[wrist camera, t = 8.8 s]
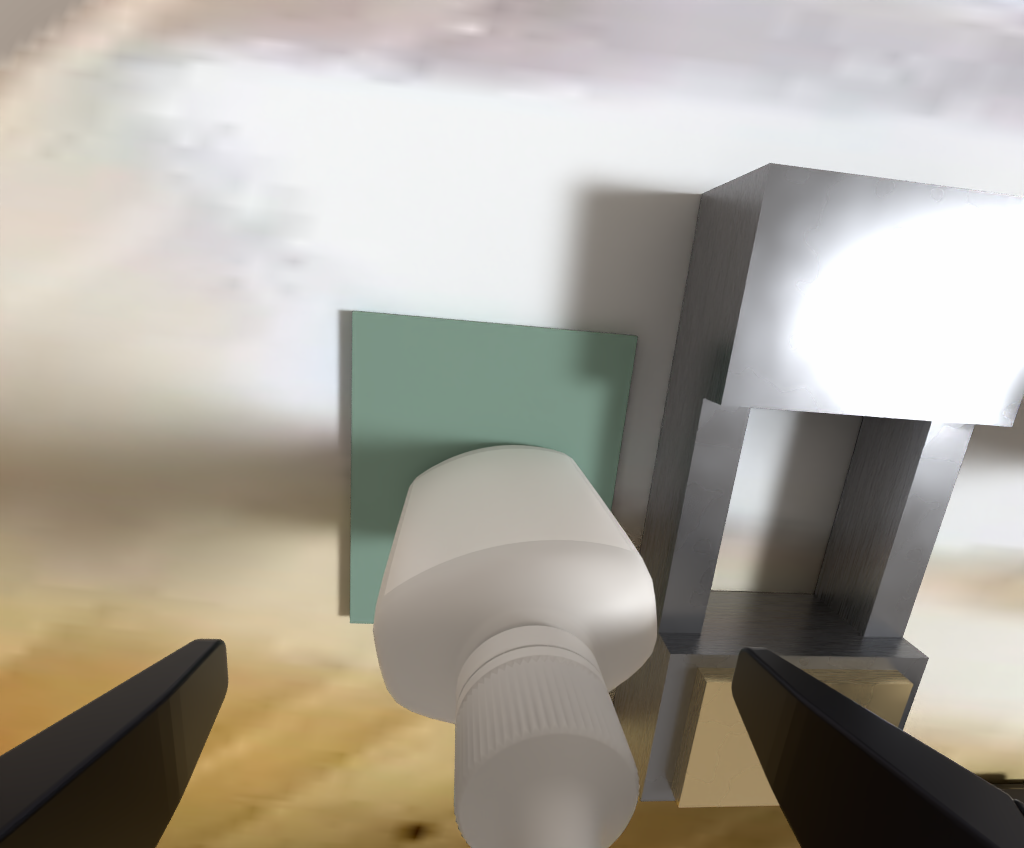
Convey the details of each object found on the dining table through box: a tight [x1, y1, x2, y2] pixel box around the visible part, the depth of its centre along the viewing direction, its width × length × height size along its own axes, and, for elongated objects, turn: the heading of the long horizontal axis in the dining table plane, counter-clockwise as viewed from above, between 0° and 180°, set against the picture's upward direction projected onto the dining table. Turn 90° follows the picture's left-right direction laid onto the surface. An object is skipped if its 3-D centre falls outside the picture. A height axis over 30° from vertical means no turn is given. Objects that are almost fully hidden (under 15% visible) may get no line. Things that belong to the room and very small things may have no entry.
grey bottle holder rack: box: [613, 163, 1024, 808], centre depth 16 cm, size 20×9×4 cm, turn 175°
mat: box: [350, 311, 638, 624], centre depth 17 cm, size 11×9×1 cm
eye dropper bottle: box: [373, 445, 657, 848], centre depth 11 cm, size 4×6×12 cm
